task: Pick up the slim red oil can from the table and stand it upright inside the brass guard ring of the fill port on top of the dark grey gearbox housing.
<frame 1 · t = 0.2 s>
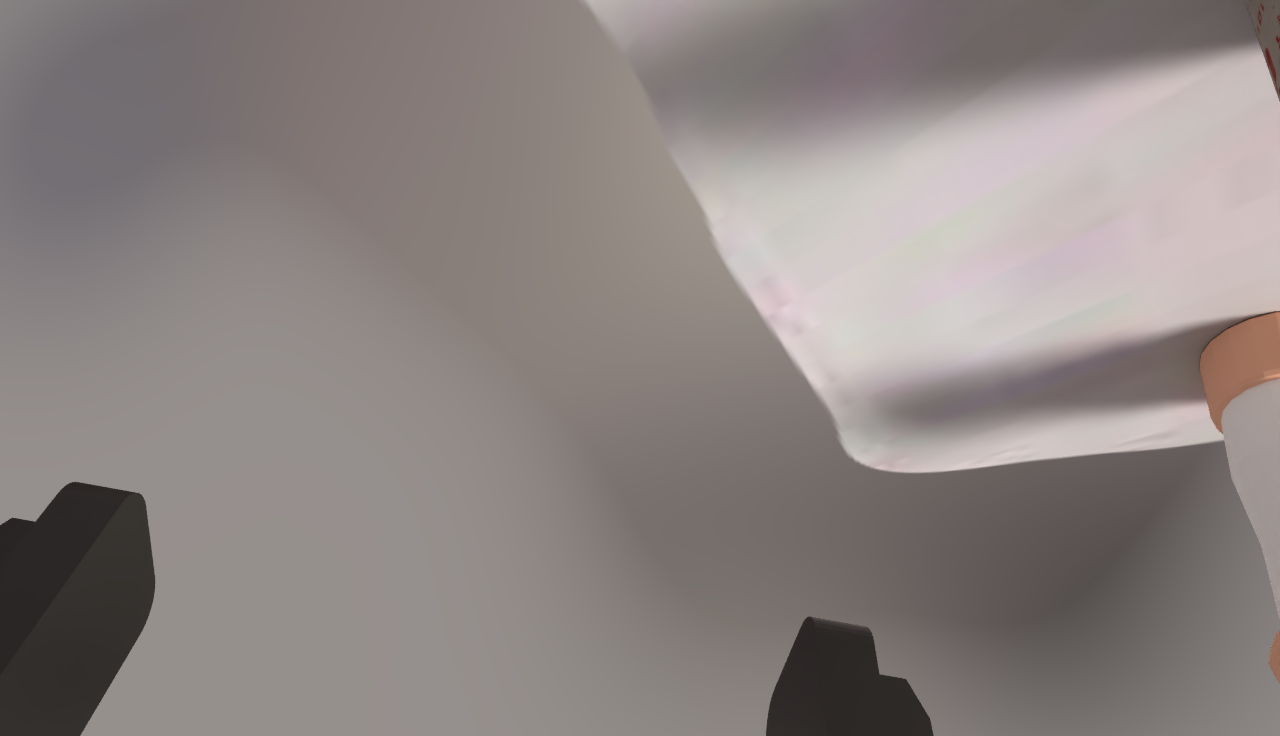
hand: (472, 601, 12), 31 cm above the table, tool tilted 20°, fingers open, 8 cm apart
pepper shaker: (1277, 350, 53), on the table
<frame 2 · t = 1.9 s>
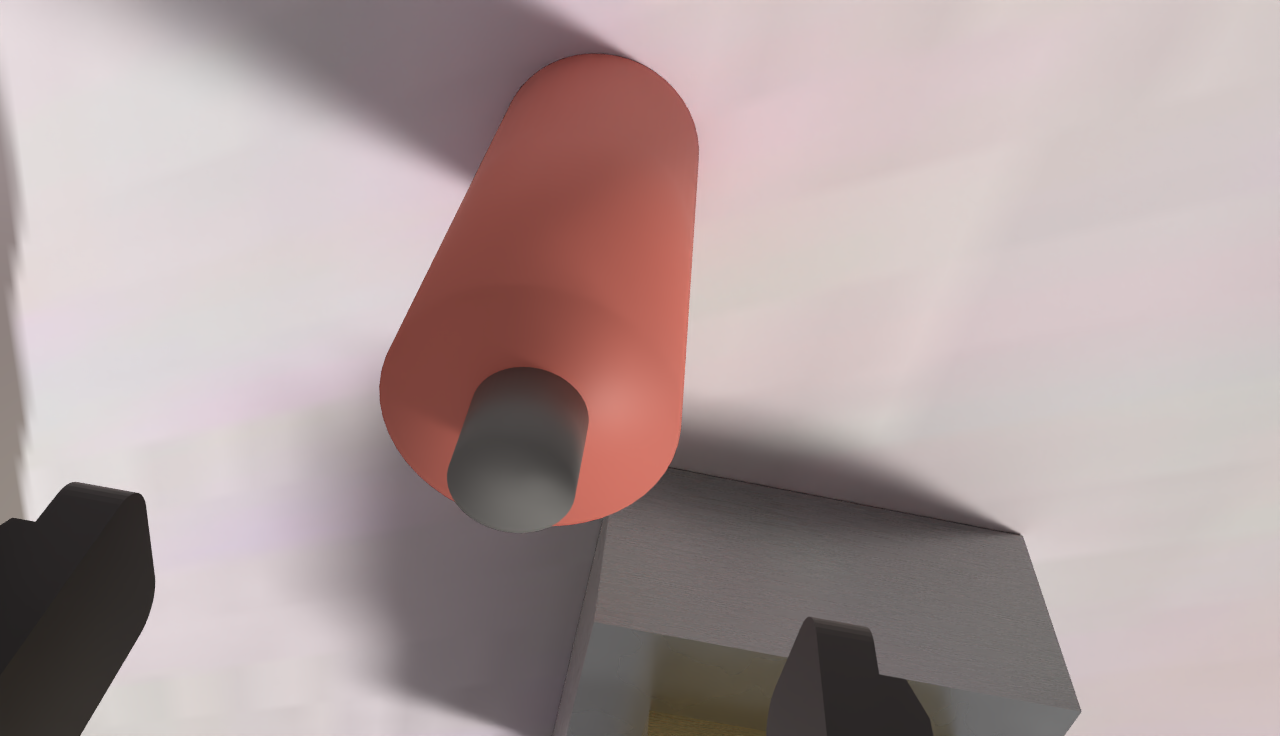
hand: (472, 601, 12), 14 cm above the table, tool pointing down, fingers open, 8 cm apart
oil can: (599, 152, 24), on the table
gearbox: (759, 651, 33), on the table
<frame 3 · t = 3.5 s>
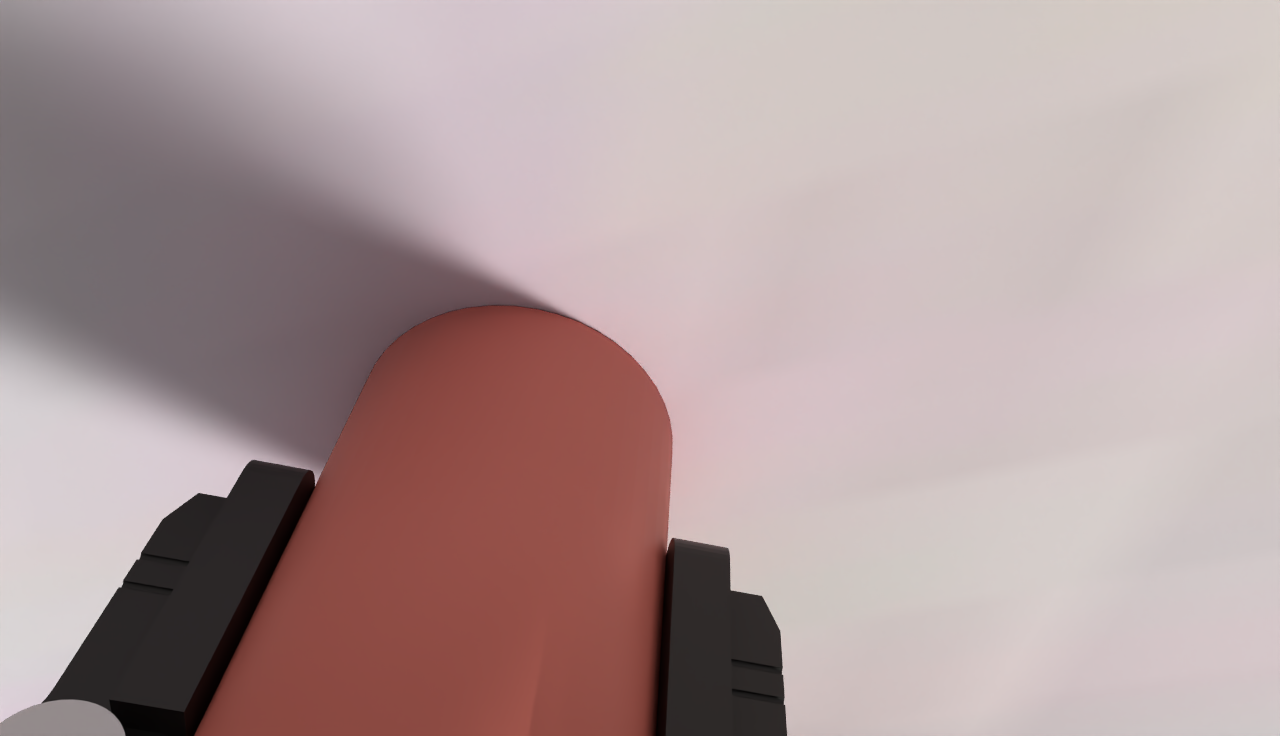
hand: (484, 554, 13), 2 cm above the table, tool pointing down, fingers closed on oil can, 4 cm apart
oil can: (516, 439, 15), on the table, touching gripper
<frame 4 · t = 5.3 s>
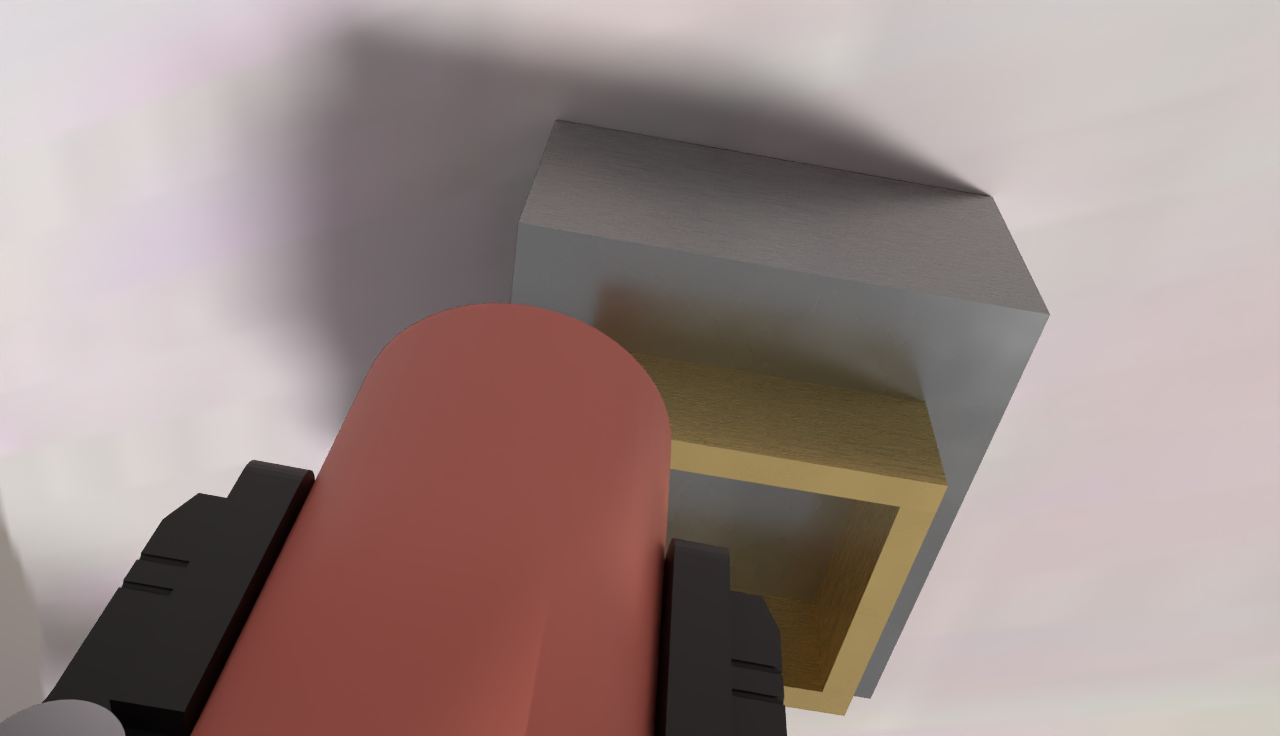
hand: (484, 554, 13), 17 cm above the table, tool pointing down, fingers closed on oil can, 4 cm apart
oil can: (515, 436, 15), point 14 cm above the table, touching gripper
gearbox: (723, 366, 31), on the table
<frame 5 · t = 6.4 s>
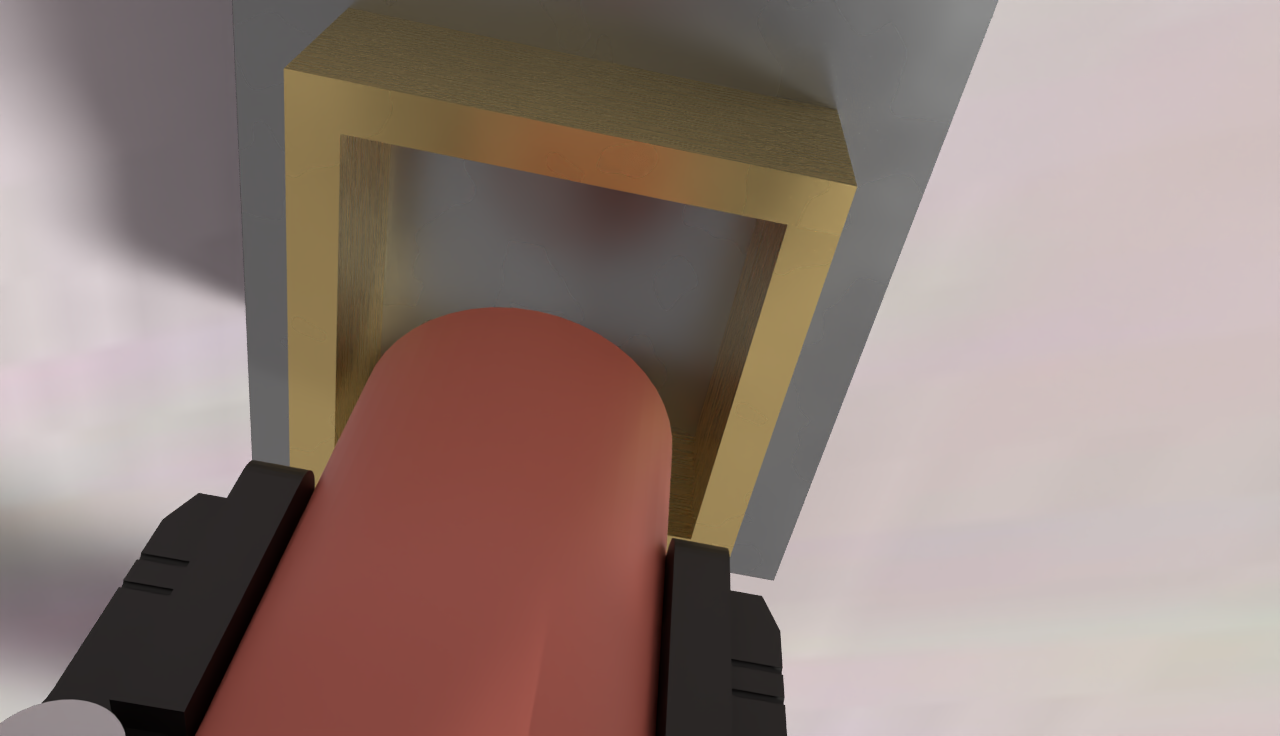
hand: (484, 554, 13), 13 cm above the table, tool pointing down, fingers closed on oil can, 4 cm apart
oil can: (516, 440, 15), point 11 cm above the table, touching gripper
gearbox: (593, 146, 24), on the table
when the fingers open (10 cm above the table, at t = 7.4 s): oil can drops 1 cm, resting on gearbox.
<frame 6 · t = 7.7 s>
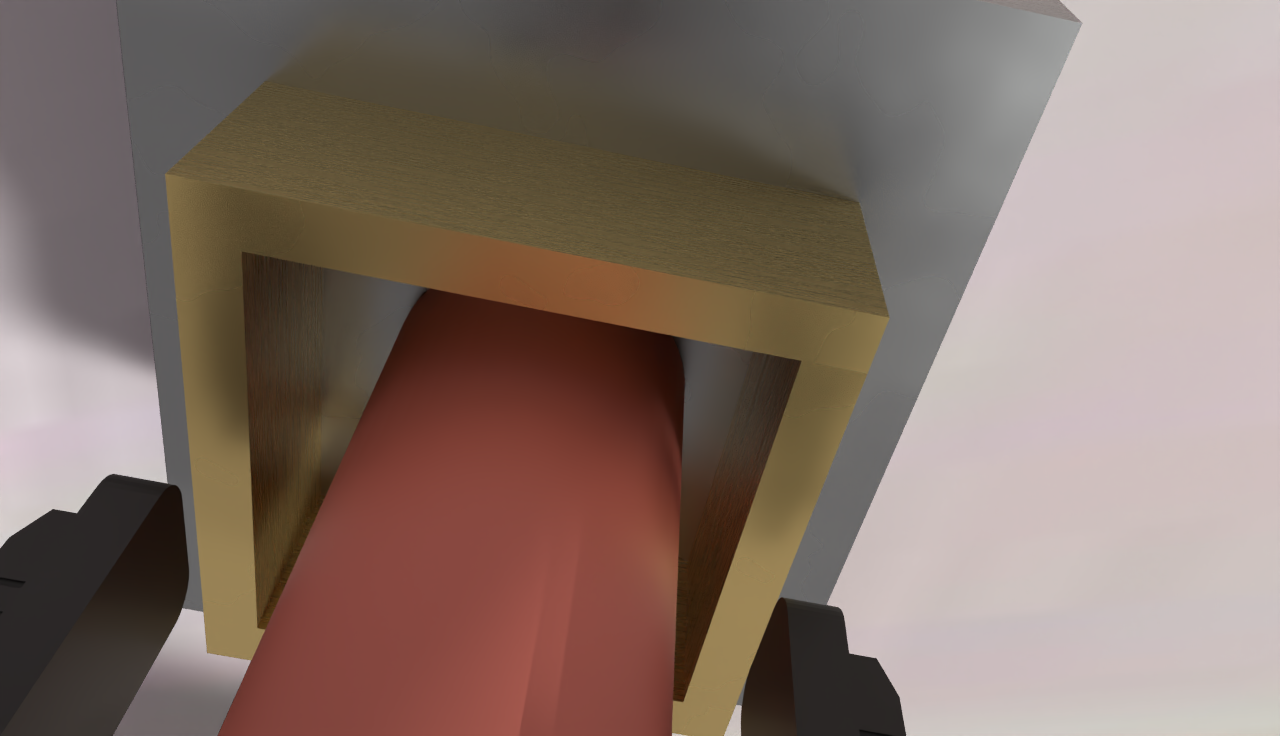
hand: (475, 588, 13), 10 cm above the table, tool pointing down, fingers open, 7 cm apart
oil can: (539, 382, 16), point 6 cm above the table, touching gearbox
gearbox: (573, 213, 21), on the table
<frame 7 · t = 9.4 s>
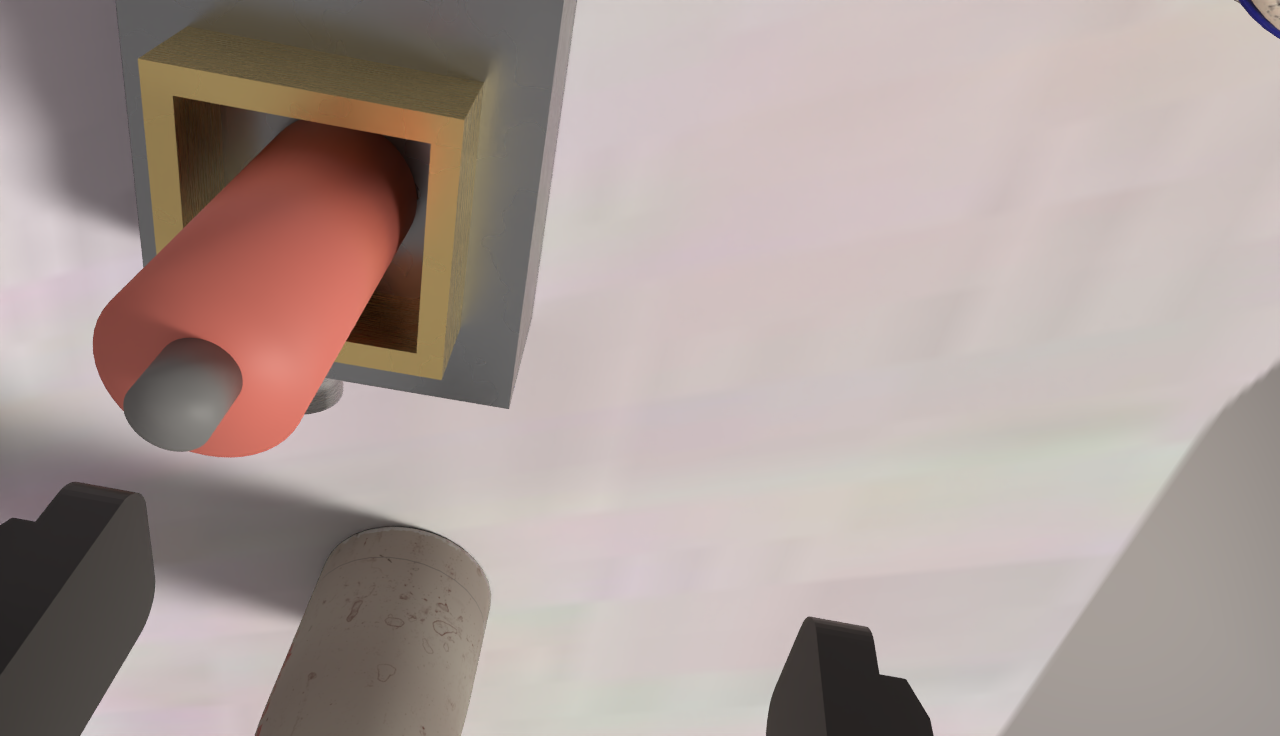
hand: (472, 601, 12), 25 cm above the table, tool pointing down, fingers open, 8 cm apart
thermos bottle: (408, 585, 48), on the table
oil can: (340, 189, 30), point 6 cm above the table, touching gearbox
gearbox: (385, 119, 35), on the table
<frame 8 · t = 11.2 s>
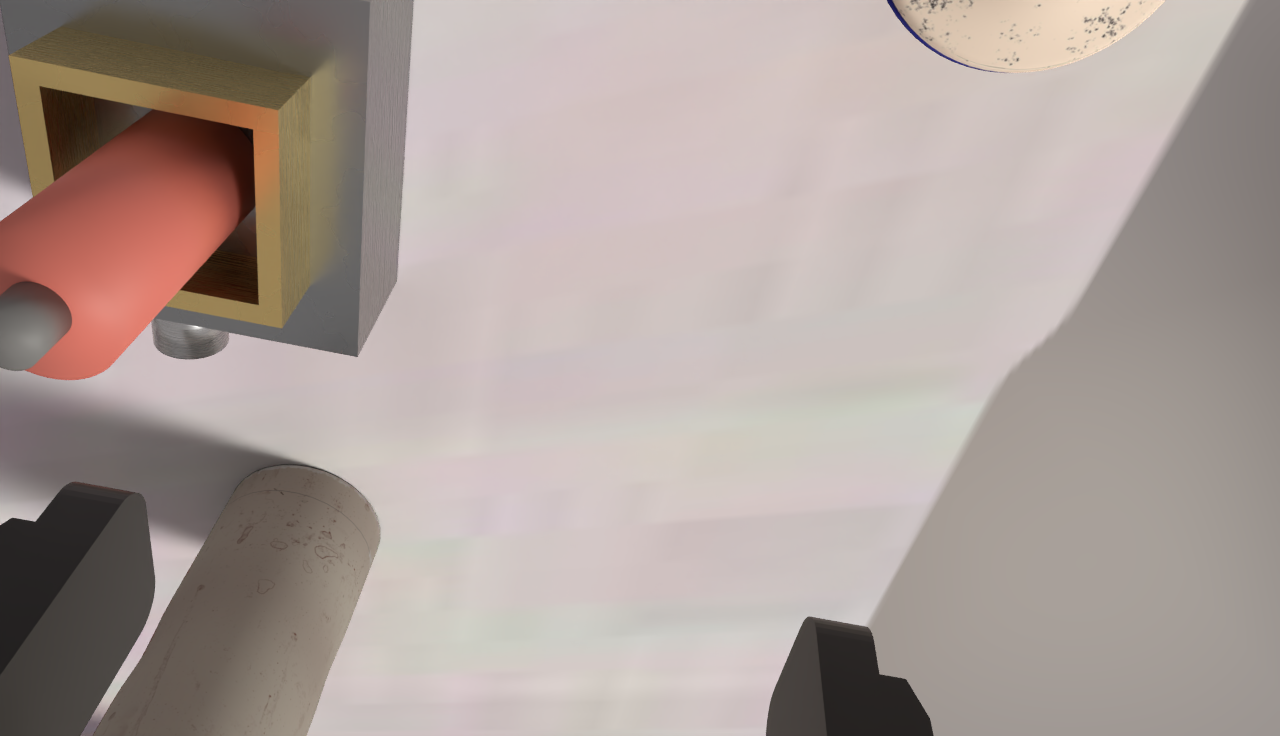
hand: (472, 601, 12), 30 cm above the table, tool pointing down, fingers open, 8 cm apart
thermos bottle: (308, 518, 54), on the table
oil can: (198, 165, 36), point 6 cm above the table, touching gearbox
gearbox: (257, 104, 41), on the table
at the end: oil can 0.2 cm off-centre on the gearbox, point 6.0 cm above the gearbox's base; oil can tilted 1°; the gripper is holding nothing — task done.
